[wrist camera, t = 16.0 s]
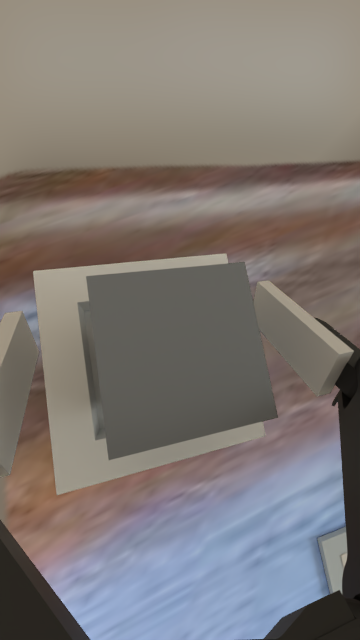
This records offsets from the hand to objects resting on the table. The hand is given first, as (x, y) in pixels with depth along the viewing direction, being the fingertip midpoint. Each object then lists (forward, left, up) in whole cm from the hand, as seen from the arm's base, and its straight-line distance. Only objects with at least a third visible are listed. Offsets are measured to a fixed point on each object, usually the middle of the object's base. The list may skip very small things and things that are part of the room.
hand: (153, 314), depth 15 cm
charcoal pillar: (0, +2, -6) cm, 7 cm away
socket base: (0, +2, -8) cm, 8 cm away
